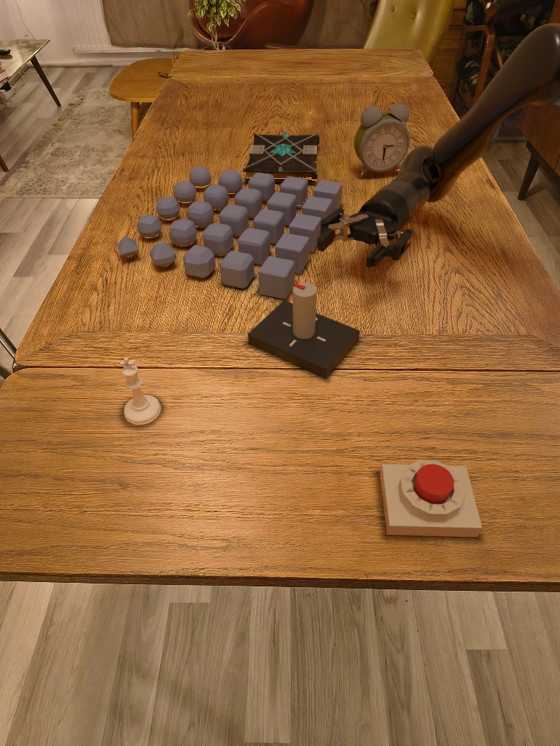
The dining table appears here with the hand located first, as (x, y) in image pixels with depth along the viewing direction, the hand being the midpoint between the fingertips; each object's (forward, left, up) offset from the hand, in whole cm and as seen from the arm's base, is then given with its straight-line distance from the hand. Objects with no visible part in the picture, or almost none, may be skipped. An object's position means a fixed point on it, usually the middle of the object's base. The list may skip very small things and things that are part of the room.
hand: (343, 254), depth 79 cm
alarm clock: (+17, -48, -10) cm, 52 cm away
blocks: (+29, -9, -10) cm, 32 cm away
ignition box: (-27, +27, -10) cm, 39 cm away
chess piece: (+11, +35, -10) cm, 38 cm away
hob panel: (0, +11, -10) cm, 15 cm away
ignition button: (-27, +27, -6) cm, 39 cm away
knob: (0, +11, -8) cm, 13 cm away
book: (+38, -40, -10) cm, 56 cm away
